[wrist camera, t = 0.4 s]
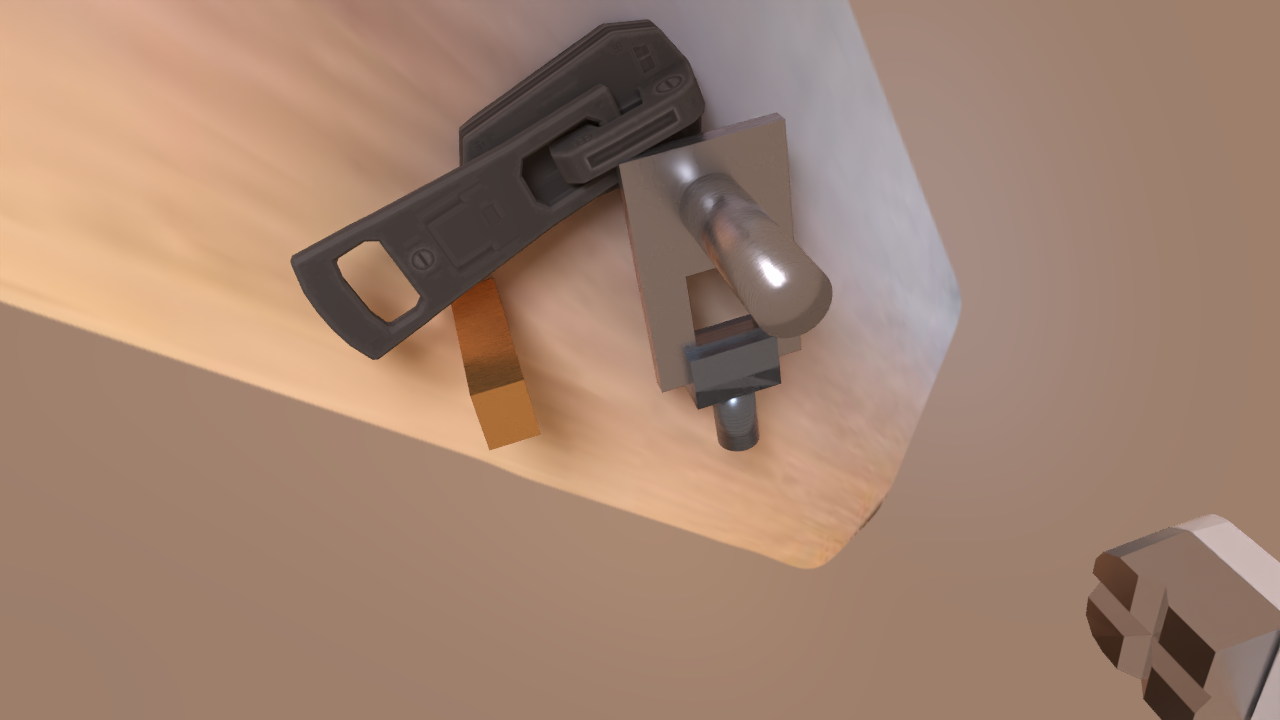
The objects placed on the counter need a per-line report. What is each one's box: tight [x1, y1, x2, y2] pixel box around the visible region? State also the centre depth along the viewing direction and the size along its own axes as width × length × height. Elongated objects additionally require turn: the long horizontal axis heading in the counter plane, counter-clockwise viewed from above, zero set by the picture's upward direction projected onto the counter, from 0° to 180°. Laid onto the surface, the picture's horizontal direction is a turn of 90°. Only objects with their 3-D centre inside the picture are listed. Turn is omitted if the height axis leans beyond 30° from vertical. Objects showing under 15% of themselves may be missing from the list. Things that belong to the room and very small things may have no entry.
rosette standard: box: [616, 113, 832, 451], centre depth 55 cm, size 23×10×18 cm, turn 9°
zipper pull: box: [291, 20, 705, 360], centre depth 51 cm, size 9×7×25 cm
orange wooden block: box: [451, 278, 540, 450], centre depth 54 cm, size 4×3×12 cm
